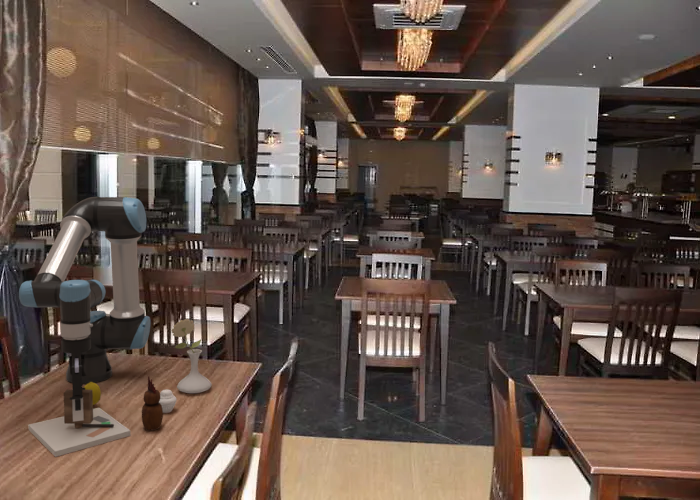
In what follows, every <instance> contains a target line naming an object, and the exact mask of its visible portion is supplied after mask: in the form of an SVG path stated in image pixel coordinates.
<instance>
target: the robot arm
mask: <svg viewBox="0 0 700 500" xmlns="http://www.w3.org/2000/svg"><path fill="white" fill-rule="evenodd" d="M59 225H60V231H59V232H58V233H57V236H56V238H55V239H54V242H53V244H52V246H51V248H50V249H49V252H48V254H47V255H46V258H45V260H44V262H43V264H42V265H41V267H40V269H39V271H38V272H37V275H36V276H35V278H34V280H32V279H31V280H26V281H24V282H22V283H21V285H20V287H19V291H18V298H19V302H20V304H21V305H22V306H24V307H28V308H36V309H37V308H60V309H59V310H60V337H62V338H61V342H60V343H61V352H62V353H65V354H70V355H69V356H68V365H67V369H66V372H65V380H66V381H67V382H68V383H71V385H72V389H71V390H73V396H72V397H70V400H72V406H73V422H74V421H82V420H84V417H83V395H82V390H85V388H84V387H83V385H84V384H85V385H86V384H88V383H90V382H93V383H98V382H99V383H100V382H103V381H106V380H108V379H110V378H111V377H112V376H113V367H112V365H111V362H110V360H109V357H108V355H107V350H139V349H143V348H144V347H146V344H147V343H148V339H149V335H150V331H151V321H152V320H151V317H150V316H148V315H145V314H146V313H145V309H144V308H142V307H141V306H140V283H139V281H140V280H139V260H138V240H140V238H142V233H144V232H145V231H146V229H147V214H146V210H145V206H144V205H143V202H142V201H141V200H140V199H138V198H135V197H134V198H133V197H127V196H125V197H124V196H91V197H87V198H85V199H83V200H81V201H79V202H78V203H76V204H74V205H73V206H71V208H70V209H68V211H67V212H65V214H64V215H63V217H62V219H61V220H60V223H59ZM92 232H104V236H105V239H106V240H107V241H109V243H110V258H111V259H110V260H111V261H110V262H111V278H112V295H113V308H112V310H111V311H110V312H109V315H107V313H106V311H105V310H93V311H91V309H92V308H94V307H96V306H98V305H99V304H100V303H101V302H102V301H103V300H104V299H105V296H106V292H107V291H106V287H105V286H104V284H103V283H102V282H101V281H99V280H97V279H88V280H84V279H71V280H70V279H69V280H66V279H67V276H68V274H69V272H70V270H71V267H72V265H73V264H74V261H75V259H76V257H77V255H78V252H79V251H80V249H81V247H82V244H83V243H84V240H85V239H87V238H88V237H89V236H90V235H91V233H92Z"/></svg>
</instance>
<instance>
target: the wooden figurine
mask: <svg viewBox="0 0 700 500" xmlns="http://www.w3.org/2000/svg"><path fill="white" fill-rule="evenodd" d="M160 393H161V391H159V390H158V389H156V386H155V384H154V383H153V379H151V378H150V375H149V376H147V390H145V392H144V394H143V402H144V404H143V405H142V407H141V408H142V409H141V422H142V424H143V425H142V426H143V428H144V429H145V430H147V431H155V430H156V431H157V430H158V429H160V427H161V426H162V423H163V417H164V416H163V415H164V413H163V410H162V405H161V404H160V403H159V401H160Z"/></svg>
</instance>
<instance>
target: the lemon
mask: <svg viewBox="0 0 700 500" xmlns="http://www.w3.org/2000/svg"><path fill="white" fill-rule="evenodd" d="M83 388H85V390H92V393H93V406H94V405H96V404H97V403H99V401H100V400H101V398H102V397H101V395H102V391H101V388H100V386H99V385H98V384H97V382H95V383H93V382H90V383H86V384H85V385H84V386H83Z"/></svg>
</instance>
